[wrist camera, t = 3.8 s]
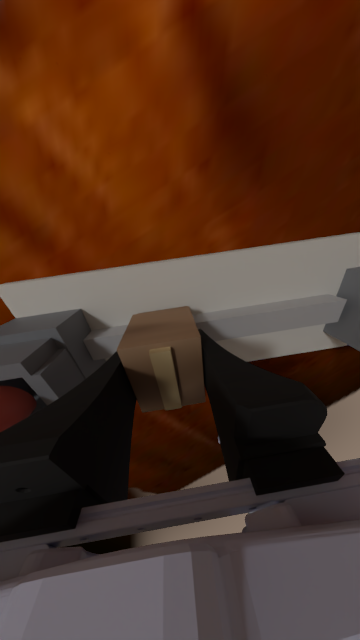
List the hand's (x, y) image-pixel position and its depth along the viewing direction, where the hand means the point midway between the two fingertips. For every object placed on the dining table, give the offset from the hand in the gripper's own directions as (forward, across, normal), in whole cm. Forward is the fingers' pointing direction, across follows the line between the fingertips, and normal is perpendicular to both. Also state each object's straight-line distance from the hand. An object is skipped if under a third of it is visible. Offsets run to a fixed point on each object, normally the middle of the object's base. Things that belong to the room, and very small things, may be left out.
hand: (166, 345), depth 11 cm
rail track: (+3, -4, 0) cm, 5 cm away
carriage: (+2, 0, 0) cm, 2 cm away
